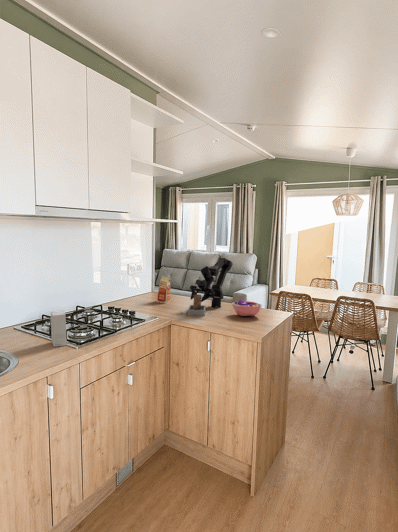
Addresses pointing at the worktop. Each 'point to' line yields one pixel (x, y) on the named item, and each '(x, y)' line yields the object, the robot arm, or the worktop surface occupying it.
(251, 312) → the cell model
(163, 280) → the milk carton
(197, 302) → the walnut cylinder
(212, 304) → the robot arm
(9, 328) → the worktop surface
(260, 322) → the worktop surface
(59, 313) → the skincare box
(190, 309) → the box
